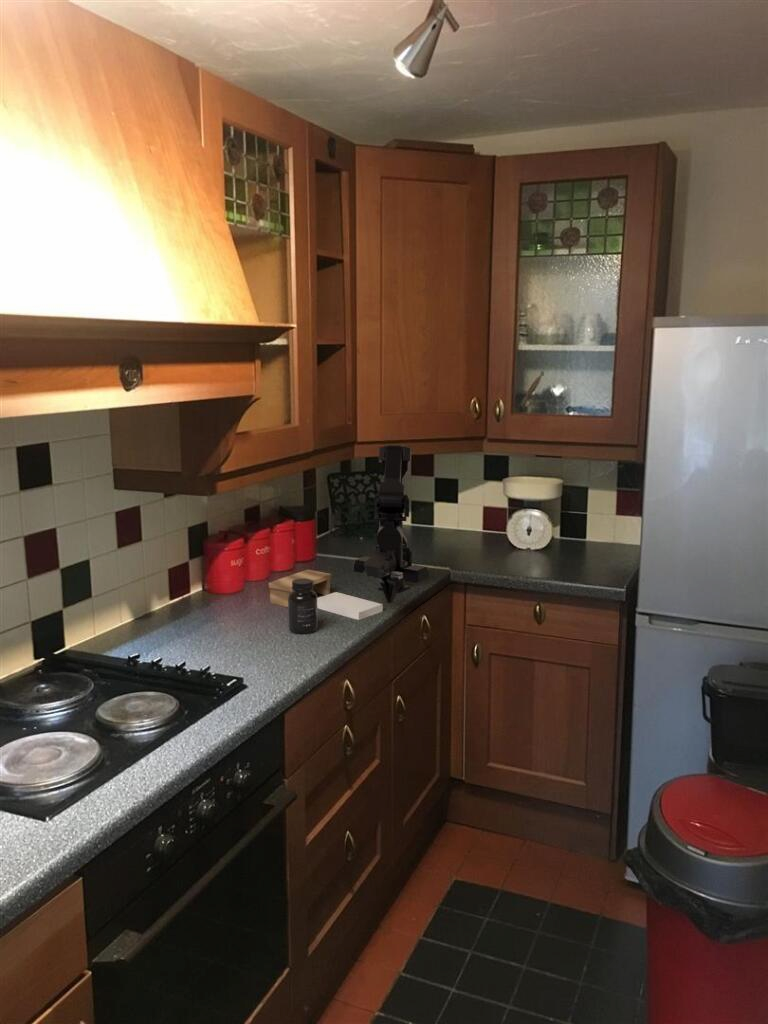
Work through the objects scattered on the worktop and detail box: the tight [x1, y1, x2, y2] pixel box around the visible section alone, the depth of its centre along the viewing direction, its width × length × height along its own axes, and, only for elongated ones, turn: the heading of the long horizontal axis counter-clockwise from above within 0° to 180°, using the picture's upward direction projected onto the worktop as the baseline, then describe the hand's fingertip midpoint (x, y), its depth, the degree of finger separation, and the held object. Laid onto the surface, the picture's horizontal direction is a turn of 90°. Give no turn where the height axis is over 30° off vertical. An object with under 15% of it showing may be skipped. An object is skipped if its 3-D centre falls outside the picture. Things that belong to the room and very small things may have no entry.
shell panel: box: [317, 591, 384, 621], centre depth 219 cm, size 9×16×2 cm, turn 50°
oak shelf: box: [268, 569, 332, 608], centre depth 227 cm, size 16×8×6 cm, turn 147°
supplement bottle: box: [287, 578, 319, 635], centre depth 202 cm, size 7×7×12 cm
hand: (390, 603), depth 211 cm, fingers closed
